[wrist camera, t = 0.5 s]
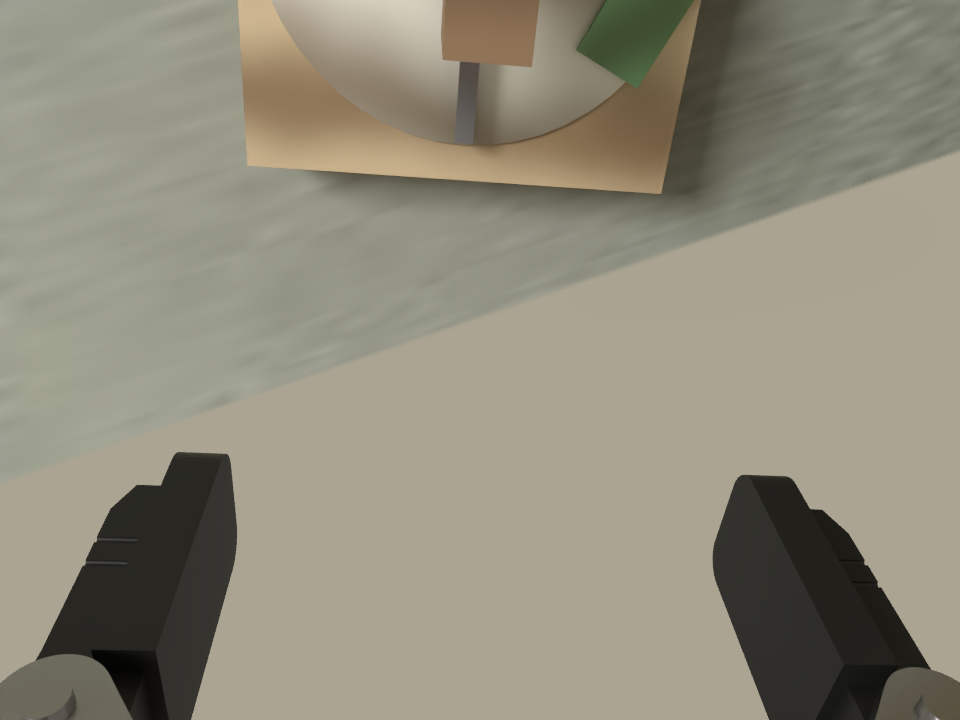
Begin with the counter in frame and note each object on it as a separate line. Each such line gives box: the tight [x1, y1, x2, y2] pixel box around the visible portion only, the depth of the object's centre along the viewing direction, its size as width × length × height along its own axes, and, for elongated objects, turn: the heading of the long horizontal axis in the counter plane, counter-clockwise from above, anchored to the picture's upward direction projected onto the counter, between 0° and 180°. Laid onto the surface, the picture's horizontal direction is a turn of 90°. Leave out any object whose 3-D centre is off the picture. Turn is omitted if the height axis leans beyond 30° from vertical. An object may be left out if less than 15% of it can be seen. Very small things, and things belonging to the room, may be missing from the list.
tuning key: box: [441, 0, 540, 144], centre depth 25 cm, size 11×2×9 cm, turn 175°
